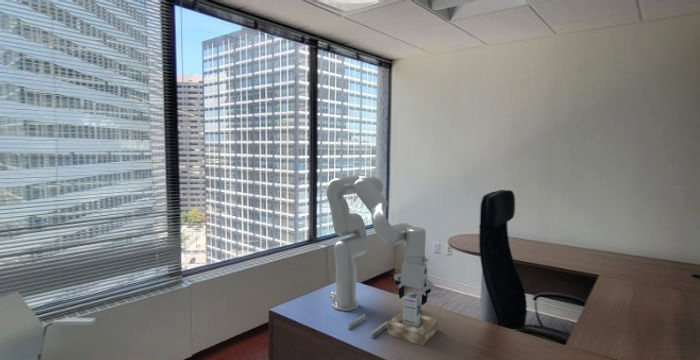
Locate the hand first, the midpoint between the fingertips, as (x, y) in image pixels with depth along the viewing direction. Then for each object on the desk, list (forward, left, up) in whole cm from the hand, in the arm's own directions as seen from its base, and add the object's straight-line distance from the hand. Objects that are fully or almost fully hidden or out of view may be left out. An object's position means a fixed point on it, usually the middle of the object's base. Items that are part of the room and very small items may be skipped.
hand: (412, 300), depth 149 cm
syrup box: (0, 0, -13) cm, 13 cm away
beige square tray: (+1, 0, -13) cm, 13 cm away
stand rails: (-15, -8, -13) cm, 22 cm away
